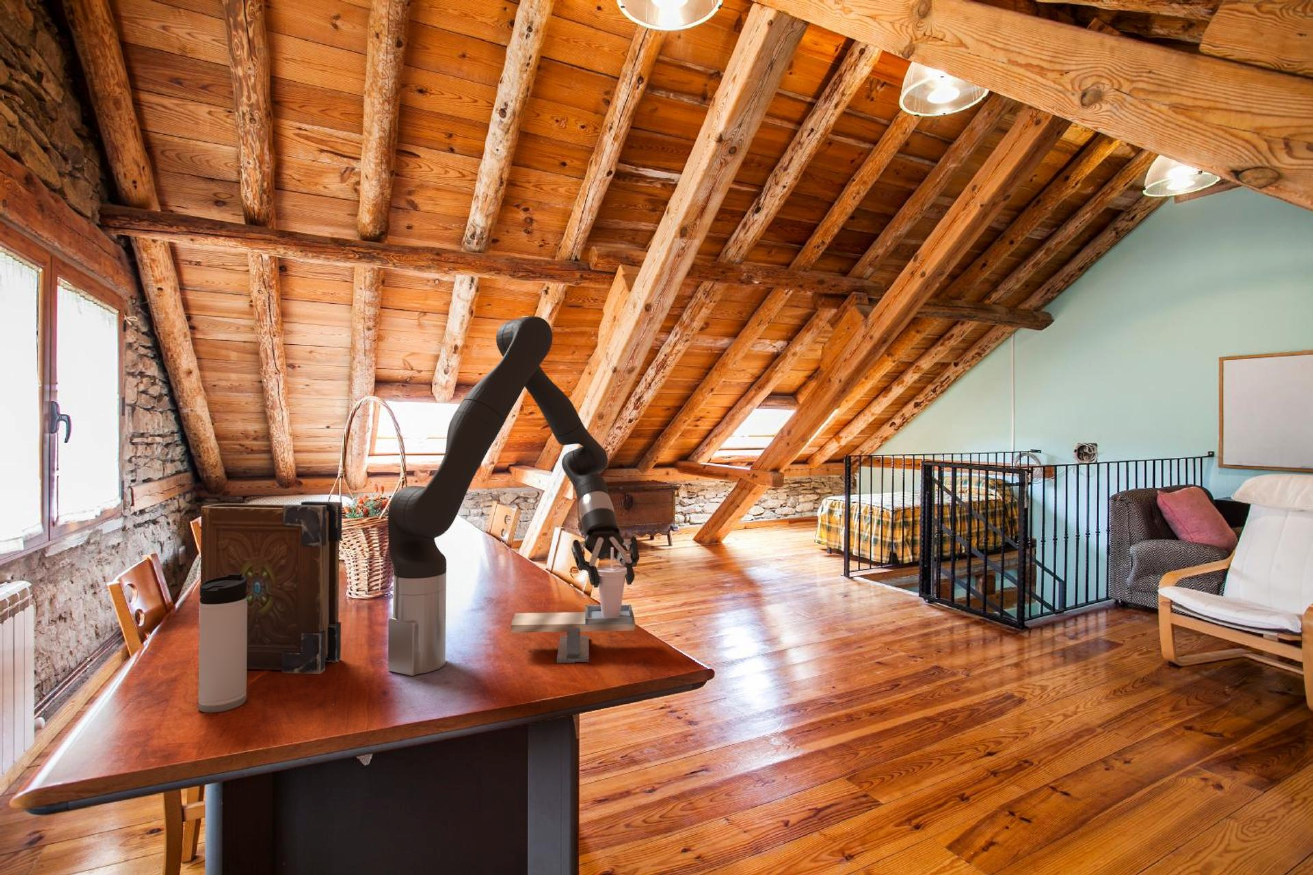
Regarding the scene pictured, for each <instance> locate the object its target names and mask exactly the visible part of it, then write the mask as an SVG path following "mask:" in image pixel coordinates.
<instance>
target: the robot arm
mask: <svg viewBox="0 0 1313 875" xmlns="http://www.w3.org/2000/svg"><path fill="white" fill-rule="evenodd" d="M553 338H554V336H553V331H552V327H551V326H550V324H549V322H548V321H547V319H545V318H544V317H543V318H542V317H539V316H534V315H532V316H531V315H529V316H523V317H520V318H516V319H513V320H509V321H506V322H505V323H502V324H501V325H500V326H499V327H498V329H497V331H496V335H495V343H496V347H497V350H498V351H499V353H500V355H501V356H502V358H501V360H500V361H499V362H498V363H497V365H496V366H495V367H494V368H493V369H492V370H490V371H489V373H487V374H486V375H485V376H484V377H482V378H481V379H480V380H479V381H478V383H476V384H475V385H474V386H473V387H472V388H471V389H470V390H469V391H468V392H467V394H466V395H465V396H464V398H463V400H462V401H461V403H460V404H459V406H458V407H457V409H456V410H455V412H454V414H453V415H452V418H451V420H450V422H449V424H448V428H447V435H446V445H445V452H444V456H443V459H442V461H441V463H440V464H439V467H438V468H437V470H436V471H435V473H434V474H433V476H432V478H431V479H430V481H429V482H428V483H427V485H425V486H422V485H421V486H420V485H409V486H408V485H407V486H405V487H402V488H401V489H398V491H397V492H395V494H394V495H393V497H392V498H391V500H390V503H389V506H388V512H387V513H388V514H387V536H388V537H387V538H388V539H387V540H388V553H389V554H388V555H389V559H390V561H391V563H392V568H393V578H392V579H393V585H392V586H393V587H392V590H393V592H392V617H390V618H389V619H388V625H387V627H388V631H387V632H388V636H387V642H388V643H387V644H388V645H387V651H388V652H387V670H388V671H389V672H394V673H397V674H402V675H407V676H410V677H414V676H416V675H419V674H426V673H431V672H434V671H436V670H438V669H441V668H442V667H444V666H445V664H446V654H447V653H446V648H447V647H446V645H447V644H446V643H447V642H446V639H447V638H446V637H447V636H446V635H447V634H446V633H447V632H446V630H447V620H446V619H447V616H446V615H447V558H446V556H445V555H444V554H443V553H442V552H441V550H440V549H439V547H438V546H437V544H436V540H435V539H436V538H439V537H441V536H442V535H444V534H445V533H446V532H447V531H448V530H449V529H450V528H451V527H452V525H453V523H454V521H455V519H456V518H457V516H458V513H459V511H460V509H461V506H462V504H463V502H464V499H465V498H466V495H467V493H468V491H469V488H470V485H471V484H472V481H473V479H474V478H475V475H476V474H477V472H478V470H479V468H480V467H481V465H482V463H483V461H484V459H485V458H486V455H487V454H488V451H489V450H490V448H491V447H492V445H493V444H494V442H495V440H496V439H497V437H498V435H499V433H500V431H501V430H502V428H503V426H504V424H505V422H506V421H507V418H508V417H509V415H510V413H511V411H513V410H512V409H513V408H514V406H515V405H516V403H517V402H518V399H519V397H520V396H521V394H522V393H523V390H524V389H526V390H527V392H528V393H529V395H530V396H531V398H532V399H533V401H534V402H535V403H536V405H537V406H538V408H539V410H540V412H541V413H542V415H543V417H544V419H545V421H546V423H547V425H548V427H549V429H550V430H551V432H552V434H553V436H554V438H555V440H556V442H557V444H559V445H560V446H570V445H580V447H578V448H576V449H573V450H570V451H569V452H567V453H565V454H564V455H563V457H562V459H561V466H562V470H563V471H564V473H565V475H566V477H567V478H568V479H569V481H570V483H571V484H572V486H573V488H574V491H575V494H576V498H577V499H576V500H577V503H578V513H579V521H580V523H581V526H582V532H583V537H584V540H583V541H579V539H574V540H572V545H571V547H570V548H571V552H572V556H573V558H574V561H575V562H574V563H575V565H576V568H577V570H578V571H586V572H587V575H588V580H589V584H590V585H591V586H593V588H599V577H598V572H597V566H595V565H596V563H597V560H600V561H602V560H605V559H607V560H611V547H614V556H613V561H615V562H616V563H617V564H620V566H624V567H626V568H627V574H626V575H625V582H626V584H627V586H630V585H632V583H633V582H634V580H635V576H636V575H635V572H634V568H635V567H637V565H638V563H639V560H640V553H639V545H638V540H637V537H636V536H630V538H624V537H623V536H622V535H621V532H620V527H619V524H618V520H617V515H616V512H615V508H614V505H613V502H612V500H611V497H610V494H609V490H608V486H607V483H606V480H605V479H604V477H603V476H601V475H599V474H597V473H600V472H602V471H604V470H605V469H606V468H607V467H608V464H609V463H608V462H609V458H608V455H607V452H606V450H605V448H604V447H603V446H602V445H601V444H600V443H599V442H598V441H597V440H596V439H595V438H594V437H593V435H591V434H590V432H589V431H588V430H587V428H586V427H585V425H584V423H583V421H582V419H581V417H580V415H579V413H578V411H577V409H576V407H575V405H574V404H573V402H572V401H571V400H570V398H569V396H567V395H566V394H565V393H564V391H562V390H561V389H560V388H559V387H558V386H557V385H556V384H555V382H553V381H552V379H551V378H550V377H549V376H548V375H547V374H546V372H545V371H544V370H543V368H542V366H541V364H542V363H543V361H544V360H545V359H546V358H547V355H548V354H549V352H550V350H551V348H552V345H553ZM624 546H625V547H626V549H627V551H628V552H629V555H628V553H627V552H626V550H625V549H624V548H623V547H624ZM584 549H586V550H587V552H589V553H590V554H591V556H590V559H589V561H587V560H586V559H585V555H584V553H583V551H584Z"/></svg>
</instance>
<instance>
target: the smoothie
mask: <svg viewBox="0 0 1313 875" xmlns="http://www.w3.org/2000/svg"><path fill="white" fill-rule="evenodd" d="M613 556H614V547H611V559H610V564H604V565H599V566H598V567H597V566H596V568H597V572H598V577H599V586H598V593H599V595H598V596H599V603H600V604H599V605H601V613H602V617H603V618H611V617H620V613H621V606H622V605H623V597H624V590H625V582H626V578H625V575H626V574H627V568H626V567H624V566H622V565H621V564H620V565H619V564H614V559H613Z"/></svg>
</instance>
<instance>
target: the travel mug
mask: <svg viewBox="0 0 1313 875" xmlns="http://www.w3.org/2000/svg"><path fill="white" fill-rule="evenodd" d="M246 591H247V578H246V577H244V576H242V574H229V575H228V576H224V577H218V578H214V579H210V580H208V581H205V582H203V583H202V584H201V583H200V585H199V601H198V604H199V608H198V706H197V707H198V710H199V711H200V712H203V713H209V714H213V713H221V712H226V711H231V710H234V709H236V708H238V707H240V706H242V705H244V703H246V701H247V681H248V679H247V678H248V677H247V674H248V673H247V672H248V671H247V670H248V669H247V601H246V600H247V592H246Z"/></svg>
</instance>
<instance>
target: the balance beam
mask: <svg viewBox="0 0 1313 875" xmlns="http://www.w3.org/2000/svg"><path fill="white" fill-rule="evenodd" d="M584 608H585V609H584V611H579V612H575V611H574V612H517V613H516V612H515V613H514V614H513V615H514V616H513V618H512V621H511V624H510V634H514V633H515V634H518V633H519V634H522V633H523V634H525V633H526V634H527V633H557V632H558V633H561V632H562V633H567V628H579V627H580V633H581V632H615V631H616V632H619V631H620V632H623V631H624V632H625V631H636V620H635V615H634V611H633V608H632V604H622V606H621V613H620V617H611V618H603V617H602V613H601V604H595V605H594V604H593V605H592V604H589V605H585V607H584Z"/></svg>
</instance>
